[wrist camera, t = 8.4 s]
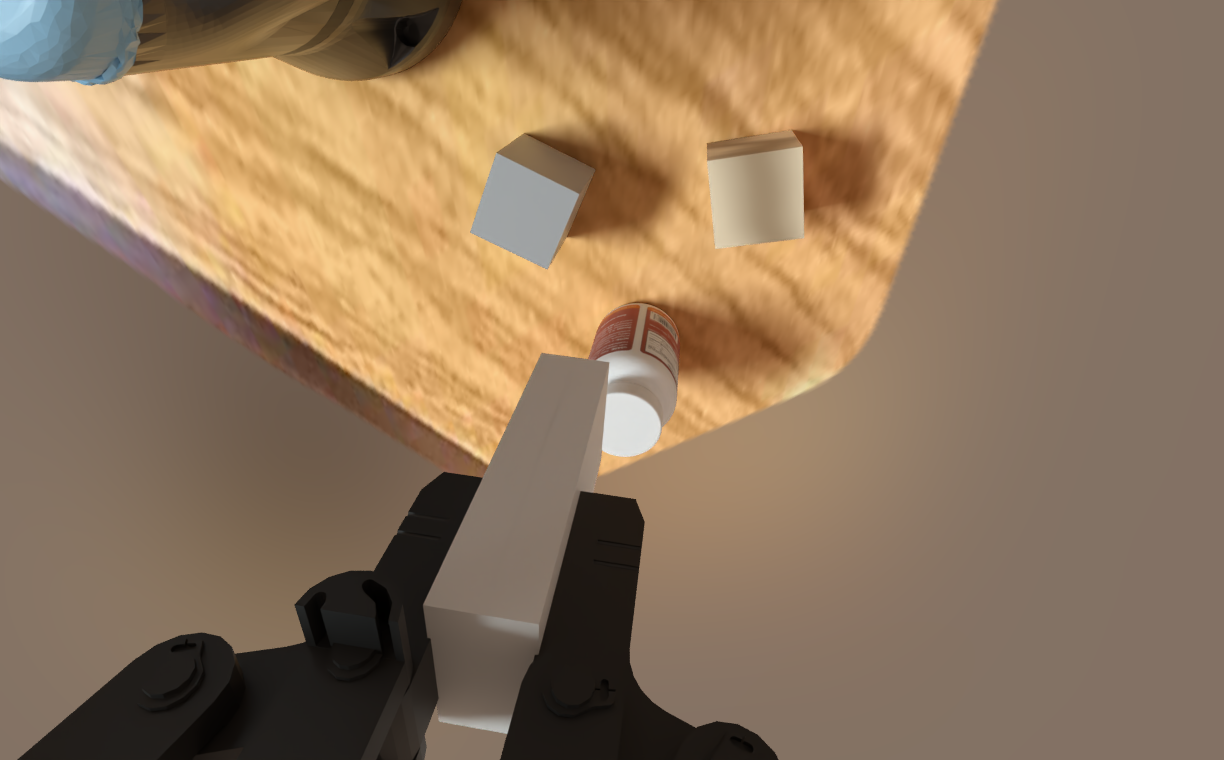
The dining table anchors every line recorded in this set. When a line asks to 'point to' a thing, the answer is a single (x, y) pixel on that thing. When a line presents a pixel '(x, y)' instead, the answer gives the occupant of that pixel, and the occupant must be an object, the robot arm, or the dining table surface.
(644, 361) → the pill bottle
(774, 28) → the dining table surface
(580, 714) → the robot arm
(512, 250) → the grey block
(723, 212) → the maple block
